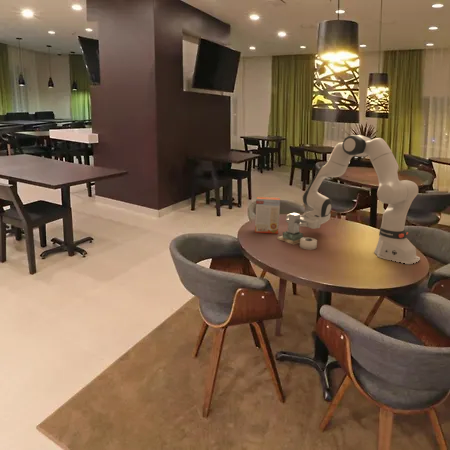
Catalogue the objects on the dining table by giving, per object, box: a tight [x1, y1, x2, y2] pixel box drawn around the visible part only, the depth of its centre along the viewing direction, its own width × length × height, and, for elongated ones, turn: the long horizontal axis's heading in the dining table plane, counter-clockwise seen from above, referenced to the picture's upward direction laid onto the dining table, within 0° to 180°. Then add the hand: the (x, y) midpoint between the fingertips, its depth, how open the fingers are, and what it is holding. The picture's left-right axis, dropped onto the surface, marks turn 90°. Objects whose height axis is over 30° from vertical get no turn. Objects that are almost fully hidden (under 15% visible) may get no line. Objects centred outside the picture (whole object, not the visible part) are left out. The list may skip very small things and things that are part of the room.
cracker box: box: [254, 196, 281, 235], centre depth 251 cm, size 14×6×21 cm, turn 84°
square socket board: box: [277, 230, 304, 246], centre depth 241 cm, size 12×12×4 cm
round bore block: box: [299, 236, 318, 251], centre depth 230 cm, size 9×9×4 cm
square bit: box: [287, 212, 301, 235], centre depth 239 cm, size 4×4×14 cm
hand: (292, 222), depth 238 cm, fingers open, 8 cm apart
